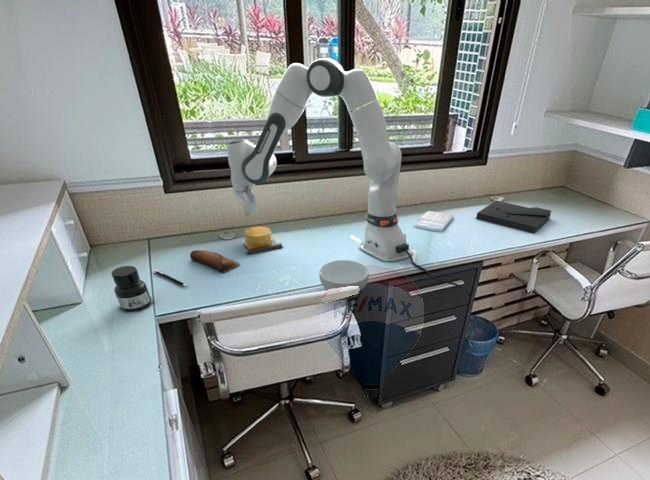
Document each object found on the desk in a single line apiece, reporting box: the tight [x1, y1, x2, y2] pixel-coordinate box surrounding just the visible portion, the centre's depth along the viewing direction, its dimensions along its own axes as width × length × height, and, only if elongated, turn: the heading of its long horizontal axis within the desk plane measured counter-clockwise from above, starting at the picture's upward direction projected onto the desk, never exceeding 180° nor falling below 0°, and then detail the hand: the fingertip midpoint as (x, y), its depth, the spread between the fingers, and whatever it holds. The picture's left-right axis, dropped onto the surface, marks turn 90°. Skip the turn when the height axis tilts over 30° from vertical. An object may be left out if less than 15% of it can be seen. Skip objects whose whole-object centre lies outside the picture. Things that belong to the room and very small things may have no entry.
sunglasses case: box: [189, 249, 239, 273], centre depth 152 cm, size 18×7×7 cm
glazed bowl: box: [244, 226, 275, 249], centre depth 166 cm, size 11×11×6 cm
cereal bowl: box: [318, 259, 370, 291], centre depth 138 cm, size 17×17×7 cm
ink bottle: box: [111, 265, 152, 312], centre depth 126 cm, size 10×9×12 cm
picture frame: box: [475, 200, 552, 234], centre depth 197 cm, size 23×4×28 cm
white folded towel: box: [414, 210, 454, 233], centre depth 191 cm, size 13×20×2 cm, turn 155°
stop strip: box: [246, 242, 283, 255], centre depth 163 cm, size 1×14×2 cm, turn 120°
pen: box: [153, 269, 188, 287], centre depth 142 cm, size 1×19×1 cm, turn 56°
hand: (248, 217), depth 170 cm, fingers closed
